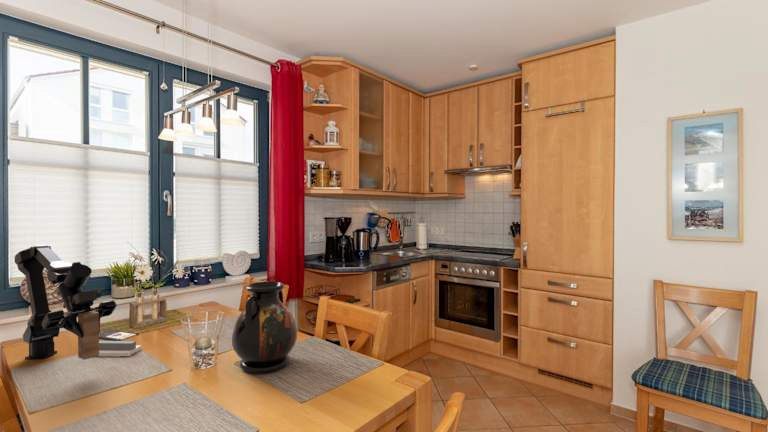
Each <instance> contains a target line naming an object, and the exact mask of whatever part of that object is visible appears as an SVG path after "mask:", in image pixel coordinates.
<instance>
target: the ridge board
mask: <svg viewBox="0 0 768 432" xmlns="http://www.w3.org/2000/svg"><path fill="white" fill-rule="evenodd" d="M141 350H142V344H141V345H137V340H121V341H111V340H99V355H98V356H97V357H120V356H129V357H130V356H132V355H134V354H135V352H136V353H137V352H139V351H141ZM133 353H134V354H133ZM131 354H132V355H131Z"/></svg>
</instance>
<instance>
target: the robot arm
mask: <svg viewBox="0 0 768 432" xmlns="http://www.w3.org/2000/svg"><path fill="white" fill-rule="evenodd" d="M14 263H15V264H16V266H17V270H18V271H19V272H20V273H22V274H23V275H24V276H25V281H26V287H27V293H28V297H29V304H30V309H31V313H32V314H31V316H30V317H29V319H28V321H27V327H26V328H25V330H24V333H23V334H22V340H23V342H25V343H27V344H28V355H27V356H25V357H24V359H26V360H31V359H32V360H33V359H35V360H42V359H44V358H48V357H49V356H52V355H54V354H56V353H58V350H55V341H54V338H55V337H59V334H60V330H61V329H64V330H66V331H69V332H71V333H72V334H74V335H75V336H77V337H78V336H79V337H80V338H83V337H84V335H83V332H82V330H81V328H80V326H79V324H78V314H79V313H84V312H89V311H95V312H99V332H100V331H101V318H104V317H108V316H111V315H112V314H113V313H114V311H115V309H116V308H117V306H118V304H117V303H116V300H104V301H100V302H99V304H98V306H95V307H92V306H93V305H94V304H95V301H97V300H98V299H100V298H102V296H103V292H102V289H101V288H100V287H95V288H93V289H91V290H86V291H83V287H84V286H86V283H87V281H88V280H89V278H90V276H91V274H92V270H93V269H92V268H91V267H89V266H88V265H86V264H82V263H81V262H80V261H76V262H74V261H73V262H68V261H67V262H66V261H64V260H63V259H61V258H60V257H59V256H58V254H56V253H55V251H53V250H52V246H51V245H49V244H42V245H41V244H40V245H38V244H37V245H33V246H30V247H28V248H26V249H23V250H21V251H19V252H17V253H16V254H15V256H14ZM45 269H46V271H47V274H46V278H47V280H48V282H50V283H51V284H52V285H57V284H59V285H58V287H57V293H56V294H57V295H58V296H60V297H61V300H62V302H63V304H62V307H63V309H66V310H67V311H64V310H63V309H60V310H53V311H52V310H51V309H50V306H49V301H48V296H47V295H48V294H47V291H46V290H47V289H46V284H45V278H44V273H43V272H44V270H45Z"/></svg>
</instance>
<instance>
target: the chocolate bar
mask: <svg viewBox="0 0 768 432" xmlns="http://www.w3.org/2000/svg"><path fill="white" fill-rule="evenodd" d="M138 335H140V334H139V333H138V332H131V331H126V330H119V329H111V328H106V329H104V330H100V332H99V340H104V341H125V340H127V339H129V338H133V337H135V336H138Z"/></svg>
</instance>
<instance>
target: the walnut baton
mask: <svg viewBox="0 0 768 432" xmlns="http://www.w3.org/2000/svg"><path fill="white" fill-rule="evenodd" d="M77 322H78V324H79V326H80V328H81V330H82V332H83V335H84V337H83V338H80V337H79V336H77V357H78V358H80V359H81V360H88V359H91V358H95V357H99V356H98V355H99V341H100V339H99V312H95V311H89V312H84V313H79V314H78V317H77Z"/></svg>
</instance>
